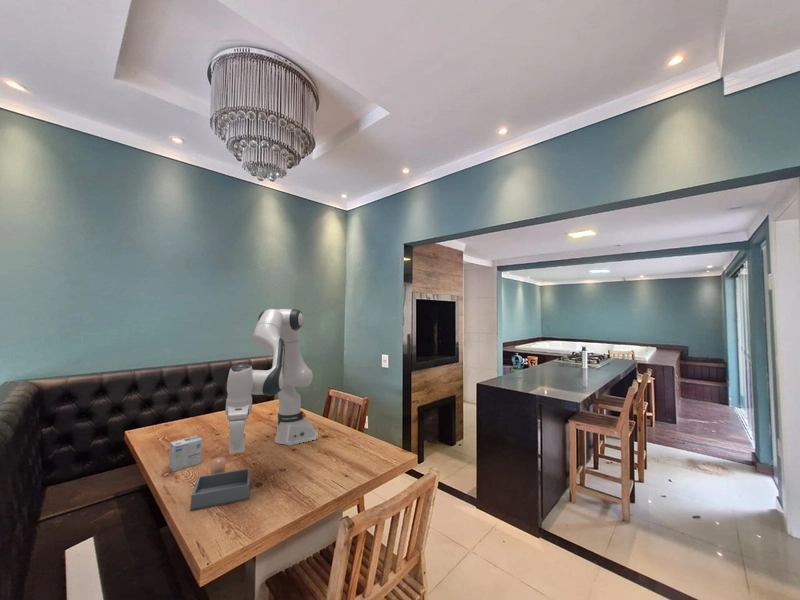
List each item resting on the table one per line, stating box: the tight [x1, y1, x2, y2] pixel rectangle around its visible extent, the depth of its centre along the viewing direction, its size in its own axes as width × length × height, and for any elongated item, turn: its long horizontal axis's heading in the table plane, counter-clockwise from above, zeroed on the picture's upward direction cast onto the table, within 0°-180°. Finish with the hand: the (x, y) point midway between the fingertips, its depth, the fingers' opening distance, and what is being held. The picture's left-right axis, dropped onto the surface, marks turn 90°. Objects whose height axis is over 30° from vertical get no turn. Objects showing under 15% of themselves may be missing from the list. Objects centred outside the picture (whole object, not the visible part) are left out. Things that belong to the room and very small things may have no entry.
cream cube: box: [228, 432, 246, 455], centre depth 117 cm, size 5×5×5 cm
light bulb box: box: [168, 435, 203, 473], centre depth 137 cm, size 11×7×11 cm, turn 141°
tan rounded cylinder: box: [210, 456, 227, 475], centre depth 127 cm, size 5×5×7 cm
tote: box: [190, 467, 251, 512], centre depth 114 cm, size 18×14×5 cm
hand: (237, 446), depth 117 cm, fingers closed on cream cube, 5 cm apart
